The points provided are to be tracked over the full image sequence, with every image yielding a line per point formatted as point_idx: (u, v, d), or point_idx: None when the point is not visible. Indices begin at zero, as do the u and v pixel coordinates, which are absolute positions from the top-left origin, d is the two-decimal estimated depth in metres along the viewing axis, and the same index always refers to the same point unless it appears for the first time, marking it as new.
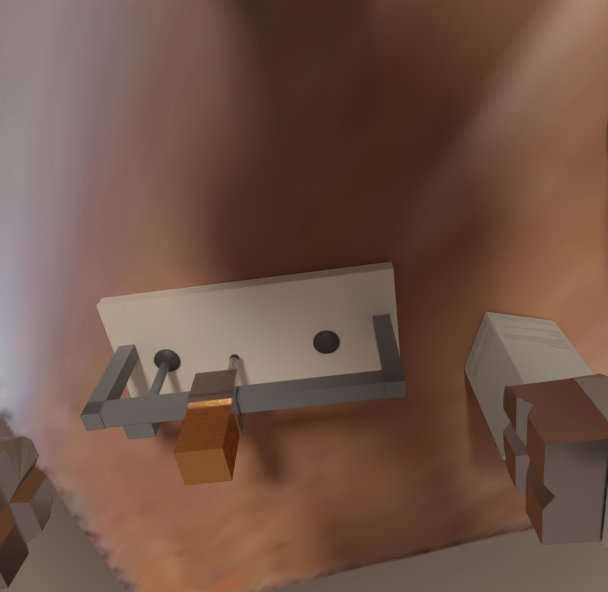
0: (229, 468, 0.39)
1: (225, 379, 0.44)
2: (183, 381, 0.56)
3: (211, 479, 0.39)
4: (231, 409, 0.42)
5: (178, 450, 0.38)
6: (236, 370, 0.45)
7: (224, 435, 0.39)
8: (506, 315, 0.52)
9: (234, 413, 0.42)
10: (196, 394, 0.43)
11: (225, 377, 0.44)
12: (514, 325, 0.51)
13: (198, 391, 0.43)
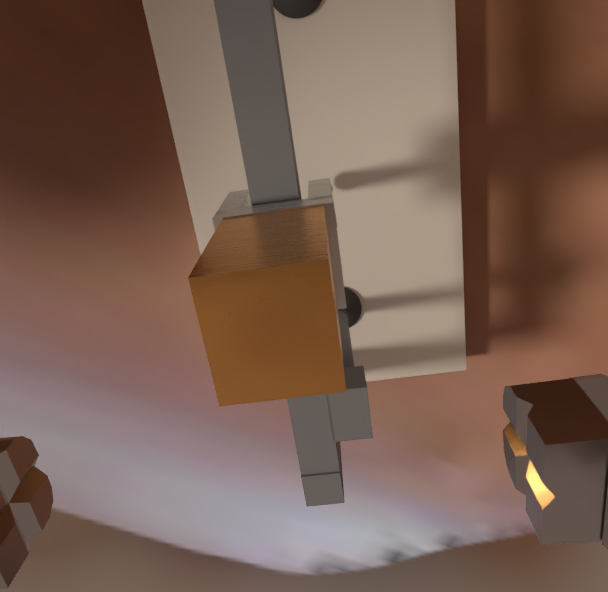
0: (284, 262, 0.12)
1: None
2: (387, 286, 0.30)
3: (322, 318, 0.13)
4: (227, 223, 0.16)
5: None
6: (229, 195, 0.20)
7: None
8: None
9: (252, 216, 0.17)
10: None
11: None
12: None
13: None
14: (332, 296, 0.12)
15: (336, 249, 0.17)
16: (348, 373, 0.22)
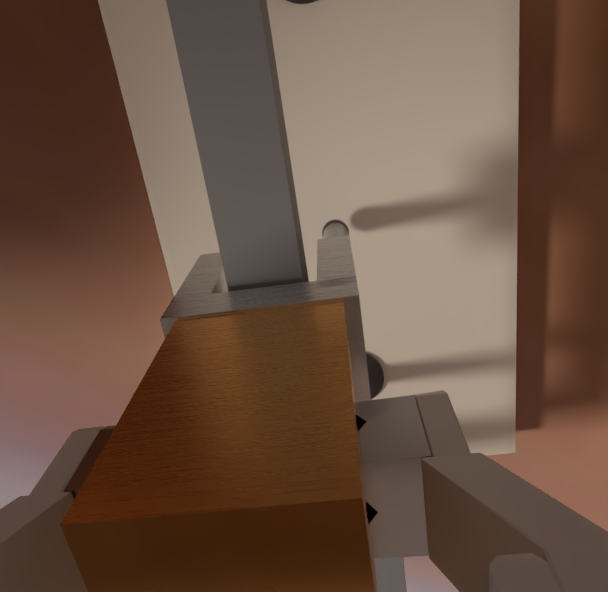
0: (265, 491, 0.06)
1: None
2: (417, 351, 0.23)
3: None
4: (181, 333, 0.10)
5: None
6: None
7: (106, 449, 0.07)
8: None
9: (224, 319, 0.10)
10: None
11: None
12: None
13: None
14: (368, 562, 0.06)
15: (362, 367, 0.11)
16: None
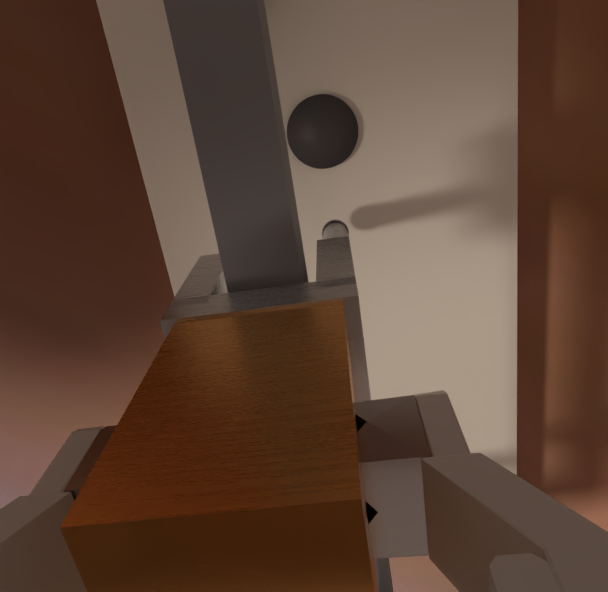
0: (264, 493, 0.06)
1: None
2: None
3: None
4: (181, 335, 0.10)
5: None
6: None
7: (106, 451, 0.07)
8: None
9: (224, 320, 0.10)
10: None
11: None
12: None
13: None
14: (368, 563, 0.06)
15: (362, 367, 0.11)
16: None
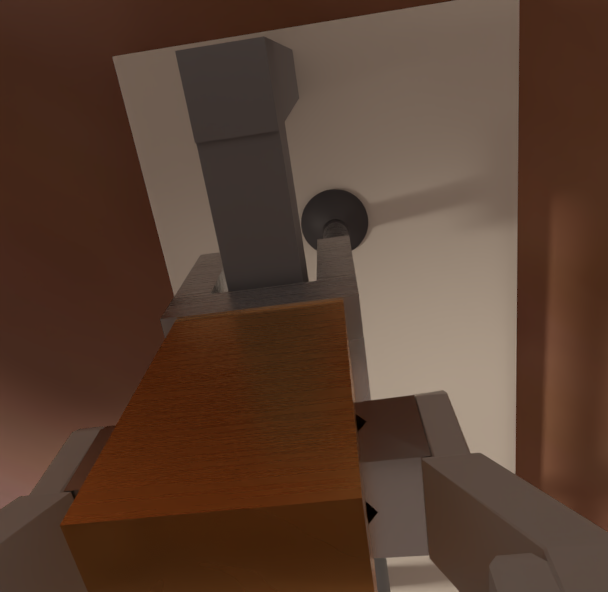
0: (265, 492, 0.06)
1: None
2: None
3: None
4: (181, 333, 0.10)
5: None
6: None
7: (106, 449, 0.07)
8: None
9: (224, 319, 0.10)
10: None
11: None
12: None
13: None
14: (368, 563, 0.06)
15: (362, 367, 0.11)
16: None
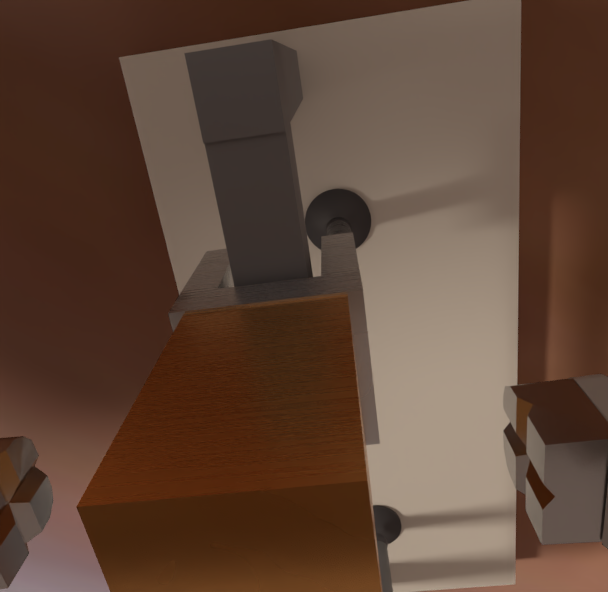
0: (274, 475, 0.06)
1: None
2: (430, 506, 0.27)
3: (350, 578, 0.06)
4: (189, 327, 0.10)
5: None
6: None
7: (119, 436, 0.07)
8: None
9: (231, 313, 0.10)
10: None
11: None
12: None
13: None
14: (373, 544, 0.06)
15: (366, 360, 0.11)
16: None
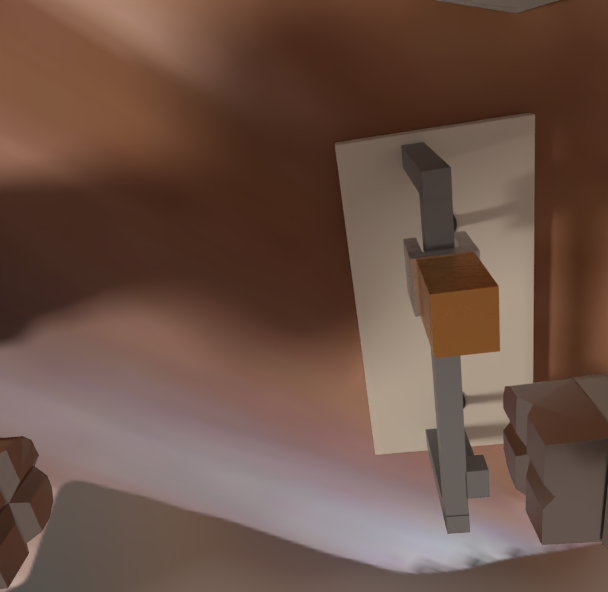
0: (475, 287, 0.26)
1: (406, 258, 0.33)
2: (482, 389, 0.47)
3: (492, 314, 0.26)
4: (422, 262, 0.30)
5: (433, 350, 0.27)
6: (403, 240, 0.34)
7: (426, 285, 0.27)
8: None
9: (434, 258, 0.30)
10: (412, 300, 0.32)
11: (405, 257, 0.33)
12: None
13: (411, 296, 0.33)
14: (498, 303, 0.26)
15: None
16: (475, 459, 0.39)
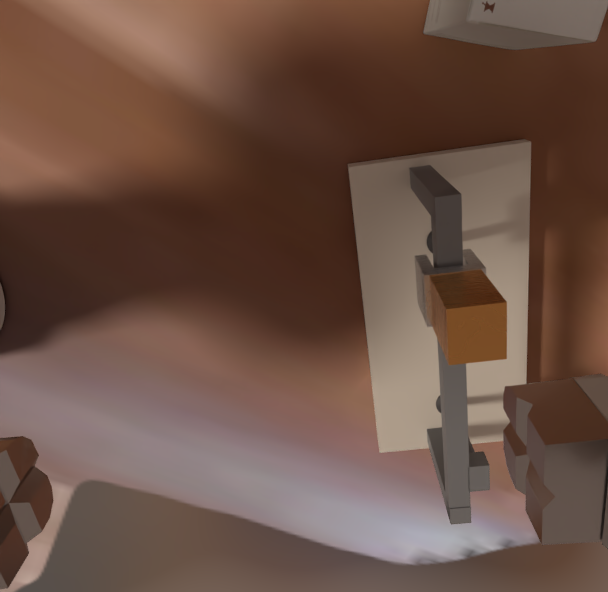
0: (486, 302, 0.29)
1: (418, 273, 0.36)
2: (480, 391, 0.50)
3: (500, 326, 0.30)
4: (435, 279, 0.33)
5: (448, 358, 0.31)
6: (415, 257, 0.37)
7: (441, 300, 0.30)
8: (429, 3, 0.39)
9: (446, 275, 0.34)
10: (424, 311, 0.36)
11: (417, 272, 0.37)
12: None
13: (423, 308, 0.36)
14: (506, 317, 0.29)
15: None
16: (476, 456, 0.42)
